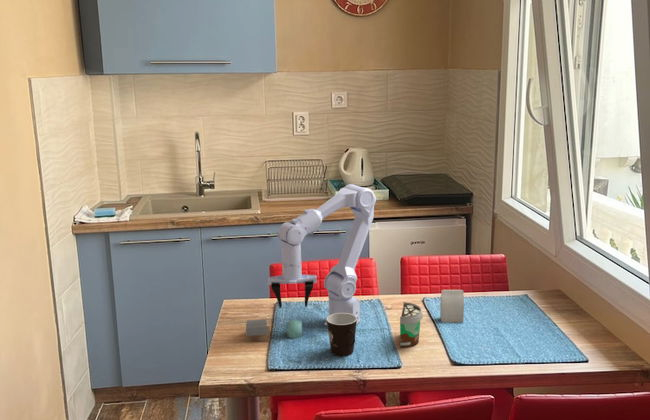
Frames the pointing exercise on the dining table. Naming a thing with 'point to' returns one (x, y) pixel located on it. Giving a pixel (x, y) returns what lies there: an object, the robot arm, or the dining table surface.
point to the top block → (256, 327)
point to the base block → (259, 337)
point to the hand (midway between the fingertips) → (293, 306)
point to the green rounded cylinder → (294, 329)
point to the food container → (410, 325)
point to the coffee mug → (342, 333)
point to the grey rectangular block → (452, 306)
